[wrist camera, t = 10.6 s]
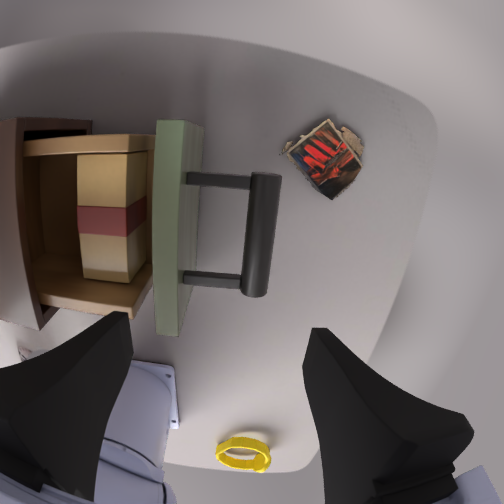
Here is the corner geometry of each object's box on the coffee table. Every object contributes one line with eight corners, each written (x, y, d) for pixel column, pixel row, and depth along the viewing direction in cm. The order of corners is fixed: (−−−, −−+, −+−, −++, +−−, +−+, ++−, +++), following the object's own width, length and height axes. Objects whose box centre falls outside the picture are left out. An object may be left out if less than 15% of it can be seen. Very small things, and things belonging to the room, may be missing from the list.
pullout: (275, 133, 17) (293, 129, 11) (257, 284, 21) (264, 344, 15) (41, 132, 16) (-21, 138, 10) (47, 263, 20) (-1, 303, 14)
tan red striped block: (147, 259, 19) (129, 284, 16) (105, 255, 19) (82, 278, 15) (149, 150, 17) (128, 153, 13) (103, 151, 16) (75, 154, 13)
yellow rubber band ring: (209, 443, 30) (246, 461, 31) (205, 461, 27) (244, 478, 29) (243, 426, 28) (281, 446, 29) (240, 447, 26) (281, 465, 27)
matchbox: (335, 204, 20) (338, 205, 19) (274, 160, 19) (275, 161, 18) (373, 150, 19) (376, 150, 18) (314, 104, 18) (315, 103, 17)
